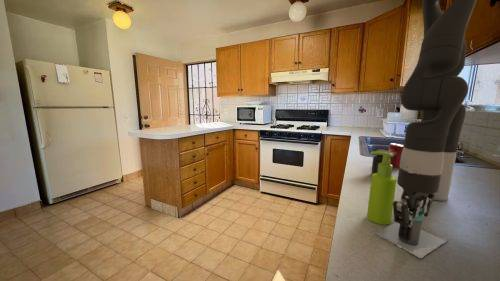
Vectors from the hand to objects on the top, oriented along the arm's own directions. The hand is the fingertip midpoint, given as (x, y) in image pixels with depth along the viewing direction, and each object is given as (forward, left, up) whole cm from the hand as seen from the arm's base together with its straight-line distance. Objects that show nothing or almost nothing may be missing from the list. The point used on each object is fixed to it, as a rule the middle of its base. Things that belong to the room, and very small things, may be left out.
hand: (408, 235), depth 51 cm
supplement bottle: (-41, -31, -2) cm, 51 cm away
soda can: (-61, -35, -2) cm, 70 cm away
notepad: (-3, -1, -2) cm, 3 cm away
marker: (0, 0, -1) cm, 1 cm away
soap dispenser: (-4, -10, -2) cm, 11 cm away
